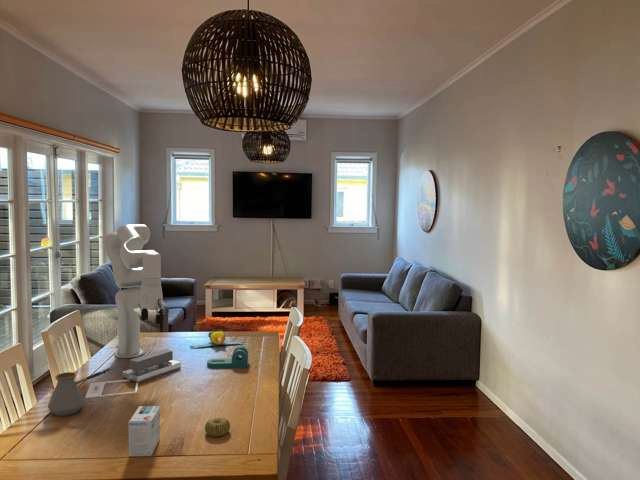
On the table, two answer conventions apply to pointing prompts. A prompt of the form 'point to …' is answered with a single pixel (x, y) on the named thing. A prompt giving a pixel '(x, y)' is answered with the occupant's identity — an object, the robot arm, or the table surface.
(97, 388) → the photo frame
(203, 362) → the table surface
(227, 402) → the table surface
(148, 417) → the light bulb box
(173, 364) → the mounting plate
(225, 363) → the bracket
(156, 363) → the grey bar
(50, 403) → the coffee pot
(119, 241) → the robot arm
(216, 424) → the sculpture
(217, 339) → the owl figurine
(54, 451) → the table surface
